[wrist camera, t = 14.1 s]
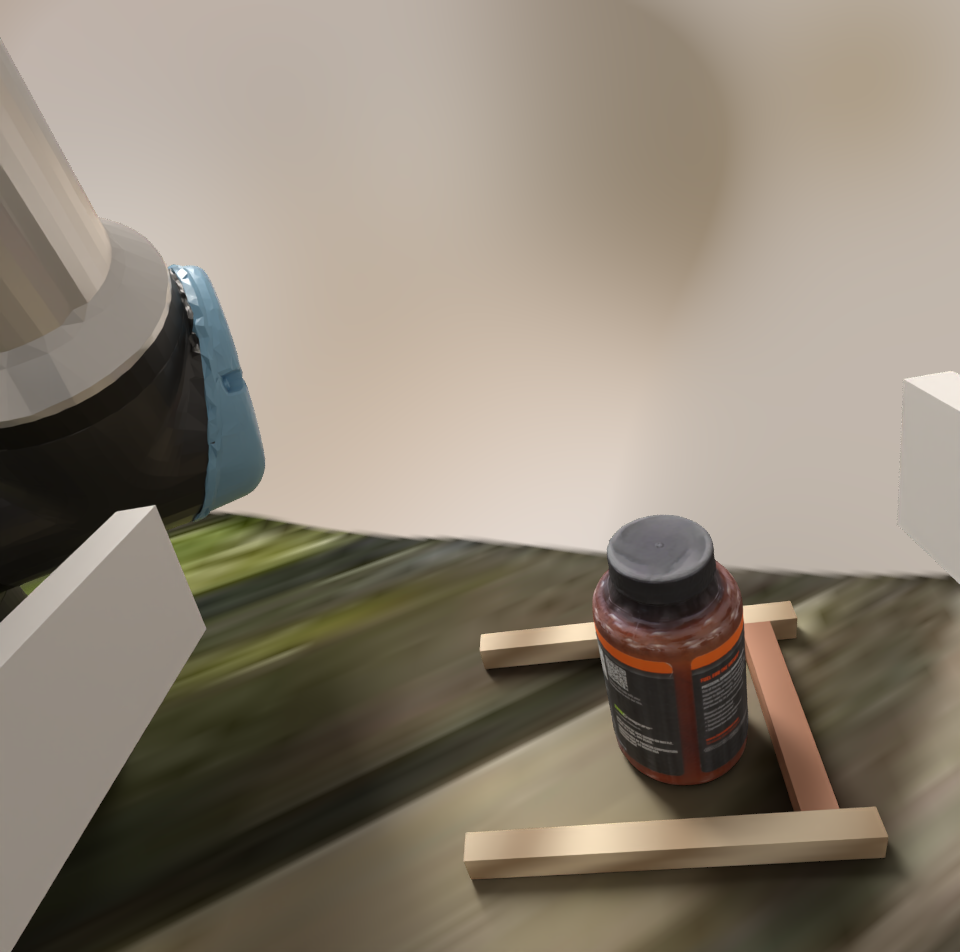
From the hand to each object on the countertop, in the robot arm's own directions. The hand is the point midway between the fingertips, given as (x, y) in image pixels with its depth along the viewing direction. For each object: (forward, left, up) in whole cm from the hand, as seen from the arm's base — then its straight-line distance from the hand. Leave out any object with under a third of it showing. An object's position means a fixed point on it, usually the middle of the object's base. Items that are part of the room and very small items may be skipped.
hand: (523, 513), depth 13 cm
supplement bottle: (+3, +12, -22) cm, 25 cm away
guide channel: (+2, +12, -22) cm, 25 cm away
